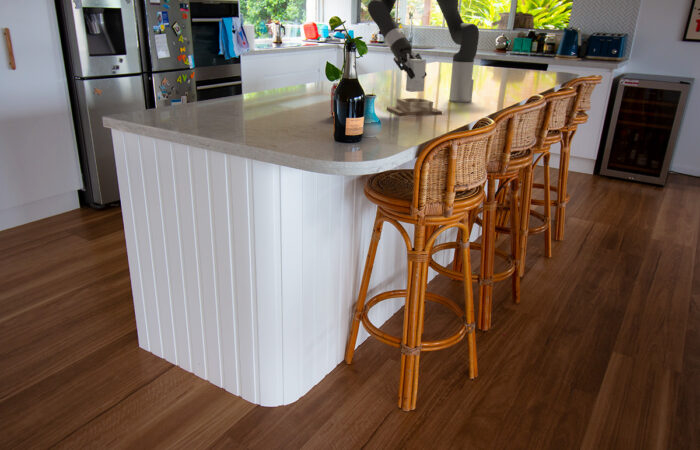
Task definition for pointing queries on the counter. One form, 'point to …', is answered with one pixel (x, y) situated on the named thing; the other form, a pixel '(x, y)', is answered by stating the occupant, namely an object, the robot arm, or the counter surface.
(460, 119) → the counter surface
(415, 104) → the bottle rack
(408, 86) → the skincare box
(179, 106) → the counter surface
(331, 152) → the counter surface
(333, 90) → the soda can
